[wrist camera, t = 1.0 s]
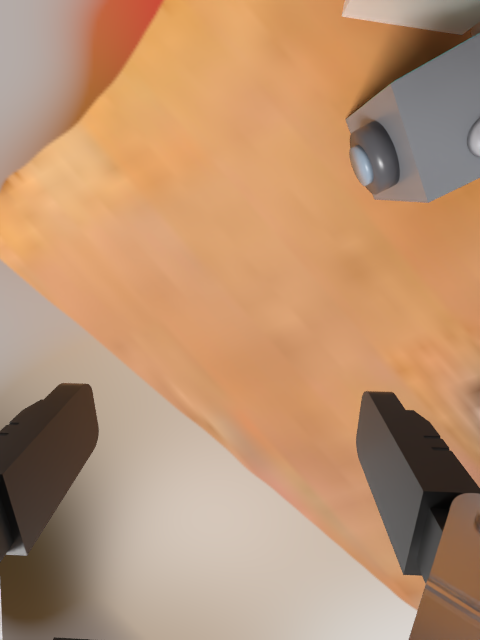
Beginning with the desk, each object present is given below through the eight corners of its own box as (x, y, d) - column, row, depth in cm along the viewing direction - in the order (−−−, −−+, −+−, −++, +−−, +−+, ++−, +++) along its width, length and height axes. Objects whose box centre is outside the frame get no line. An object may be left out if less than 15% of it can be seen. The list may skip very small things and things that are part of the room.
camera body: (473, 26, 26) (613, -79, 16) (499, 136, 29) (635, 106, 18) (318, 114, 29) (354, 72, 18) (354, 209, 31) (404, 217, 21)
